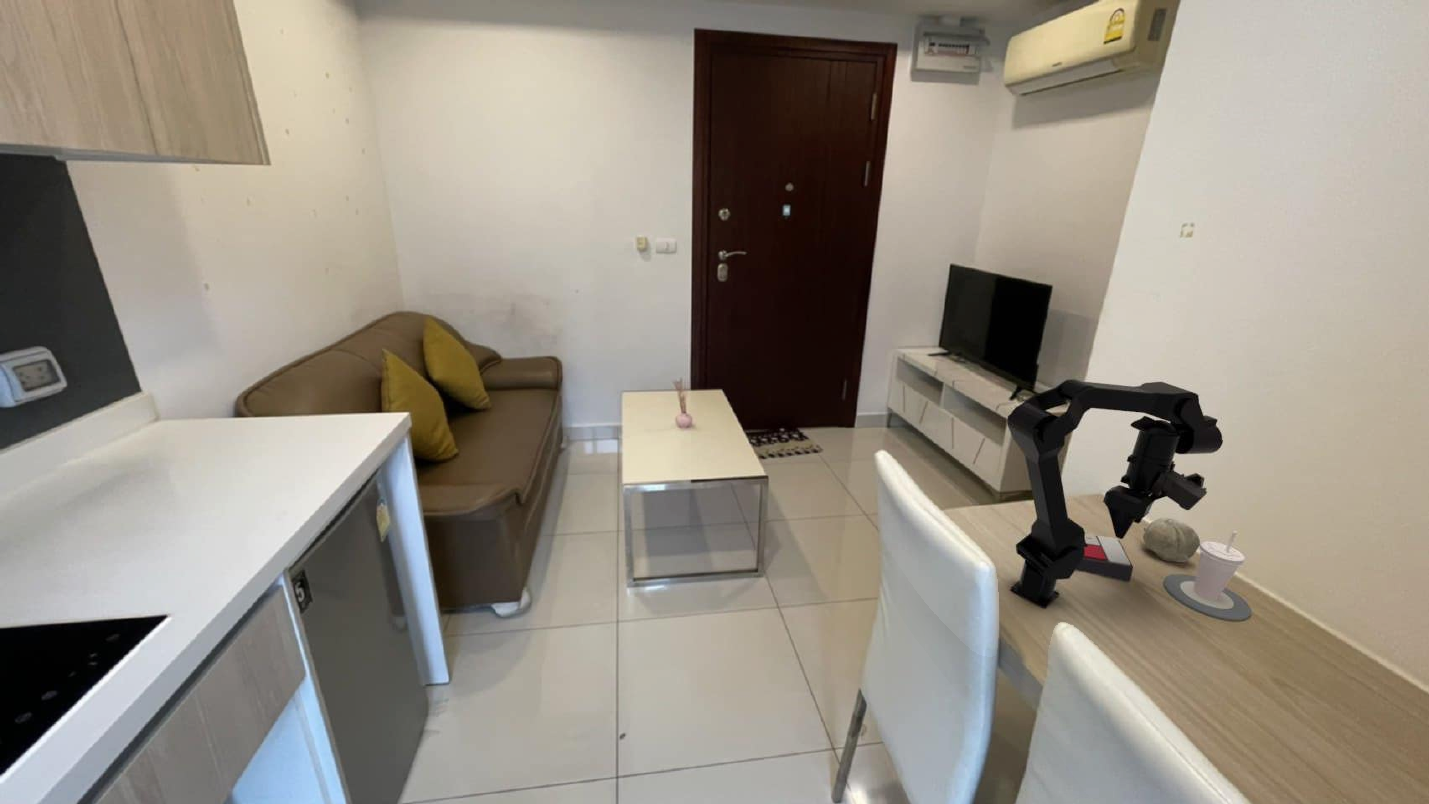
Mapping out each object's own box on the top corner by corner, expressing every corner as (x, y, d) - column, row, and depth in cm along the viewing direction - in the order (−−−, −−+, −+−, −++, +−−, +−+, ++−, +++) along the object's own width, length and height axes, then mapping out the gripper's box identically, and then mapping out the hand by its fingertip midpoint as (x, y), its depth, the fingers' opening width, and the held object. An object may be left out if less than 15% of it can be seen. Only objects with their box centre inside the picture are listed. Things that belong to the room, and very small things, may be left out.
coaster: (1241, 631, 100) (1243, 628, 100) (1154, 592, 110) (1155, 589, 109) (1256, 602, 108) (1258, 599, 108) (1173, 568, 118) (1174, 565, 117)
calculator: (1040, 523, 126) (1119, 536, 121) (1036, 540, 127) (1115, 553, 122) (1048, 549, 116) (1135, 564, 111) (1044, 567, 118) (1130, 582, 113)
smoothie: (1225, 609, 105) (1253, 544, 100) (1182, 593, 109) (1206, 529, 104) (1228, 594, 109) (1254, 531, 104) (1186, 578, 113) (1209, 517, 108)
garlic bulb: (1185, 574, 120) (1220, 545, 114) (1149, 567, 119) (1182, 538, 113) (1160, 539, 127) (1191, 509, 121) (1125, 532, 127) (1155, 502, 121)
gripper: (1195, 485, 89) (1164, 569, 95) (1223, 457, 101) (1194, 533, 106) (1114, 460, 97) (1090, 538, 103) (1148, 436, 109) (1125, 508, 114)
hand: (1127, 529), depth 106 cm, fingers open, 9 cm apart
